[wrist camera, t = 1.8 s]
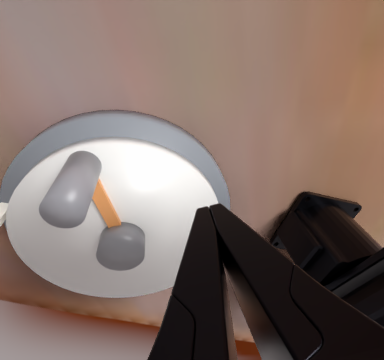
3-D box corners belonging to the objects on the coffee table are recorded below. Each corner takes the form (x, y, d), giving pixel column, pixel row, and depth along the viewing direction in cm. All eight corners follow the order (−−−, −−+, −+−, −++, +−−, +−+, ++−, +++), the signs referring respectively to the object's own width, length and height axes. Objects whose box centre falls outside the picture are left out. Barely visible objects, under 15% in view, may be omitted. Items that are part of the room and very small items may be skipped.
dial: (228, 261, 22) (247, 321, 17) (75, 300, 22) (57, 369, 17) (200, 111, 14) (222, 151, 10) (-38, 169, 14) (-124, 237, 10)
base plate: (258, 144, 18) (279, 168, 15) (190, 280, 25) (195, 314, 23) (4, 74, 13) (-38, 89, 10) (14, 266, 21) (-8, 305, 18)
